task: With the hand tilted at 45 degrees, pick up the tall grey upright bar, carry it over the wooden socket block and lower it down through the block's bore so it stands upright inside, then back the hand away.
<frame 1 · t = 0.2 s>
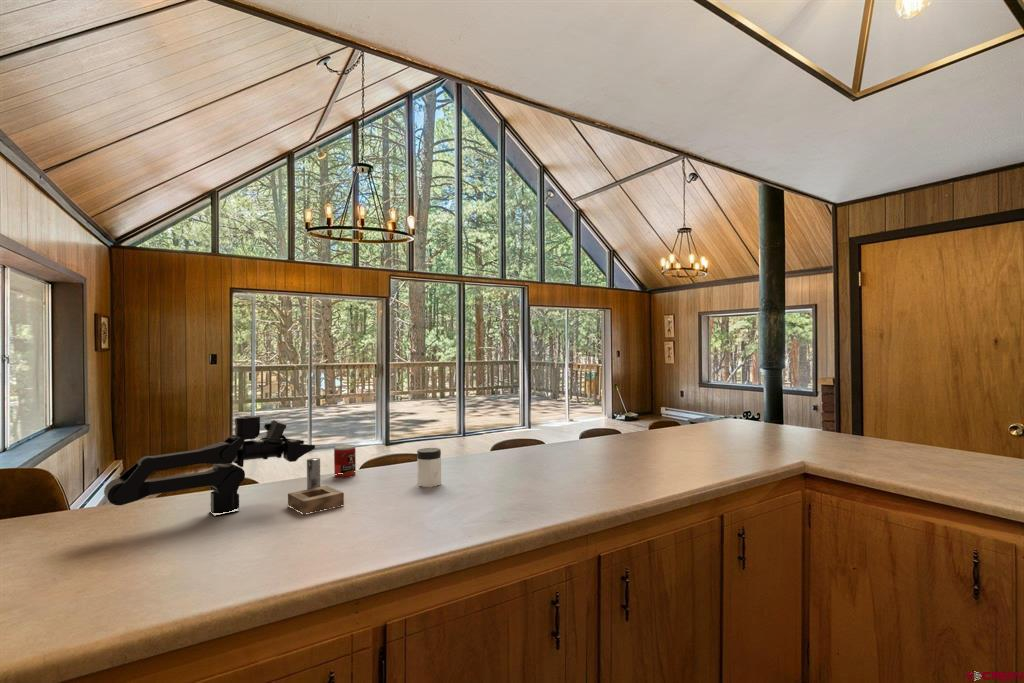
hand: (309, 444, 165), 16 cm above the worktop, tool horizontal, fingers open, 9 cm apart
wooden socket block: (315, 506, 151), on the worktop
grey upright bar: (313, 496, 161), on the worktop
canned food: (345, 476, 189), on the worktop
jar: (429, 484, 174), on the worktop
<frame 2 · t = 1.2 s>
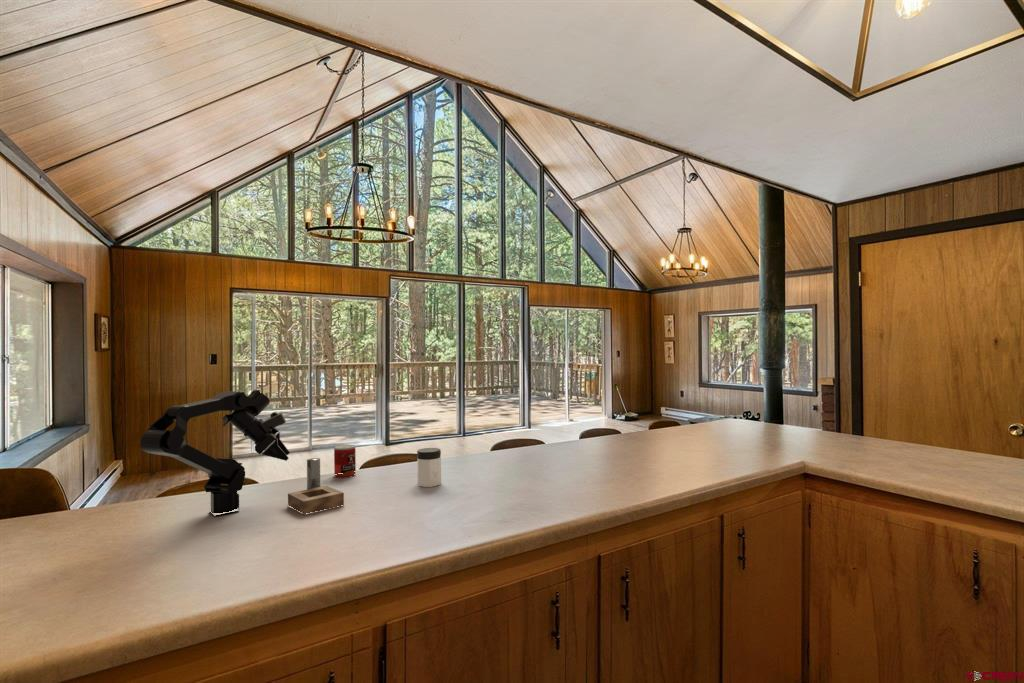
hand: (288, 456, 159), 14 cm above the worktop, tool tilted 45°, fingers open, 9 cm apart
nothing on the worktop moved.
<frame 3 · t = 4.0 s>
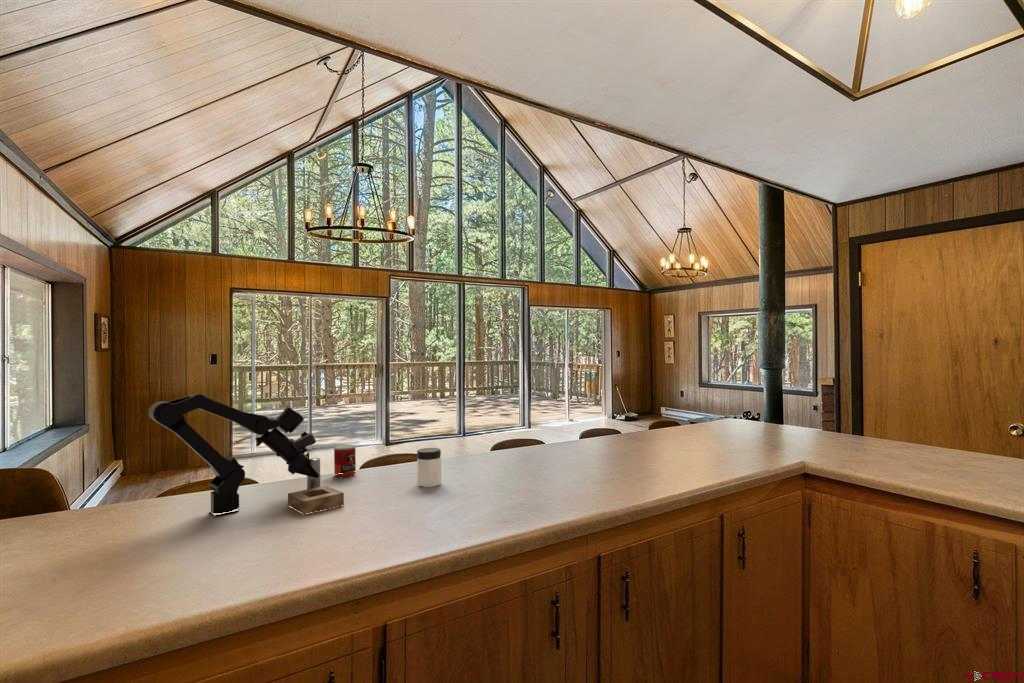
hand: (318, 475, 162), 7 cm above the worktop, tool tilted 45°, fingers closed on grey upright bar, 4 cm apart
grey upright bar: (313, 496, 161), on the worktop, touching gripper
everything else where it was.
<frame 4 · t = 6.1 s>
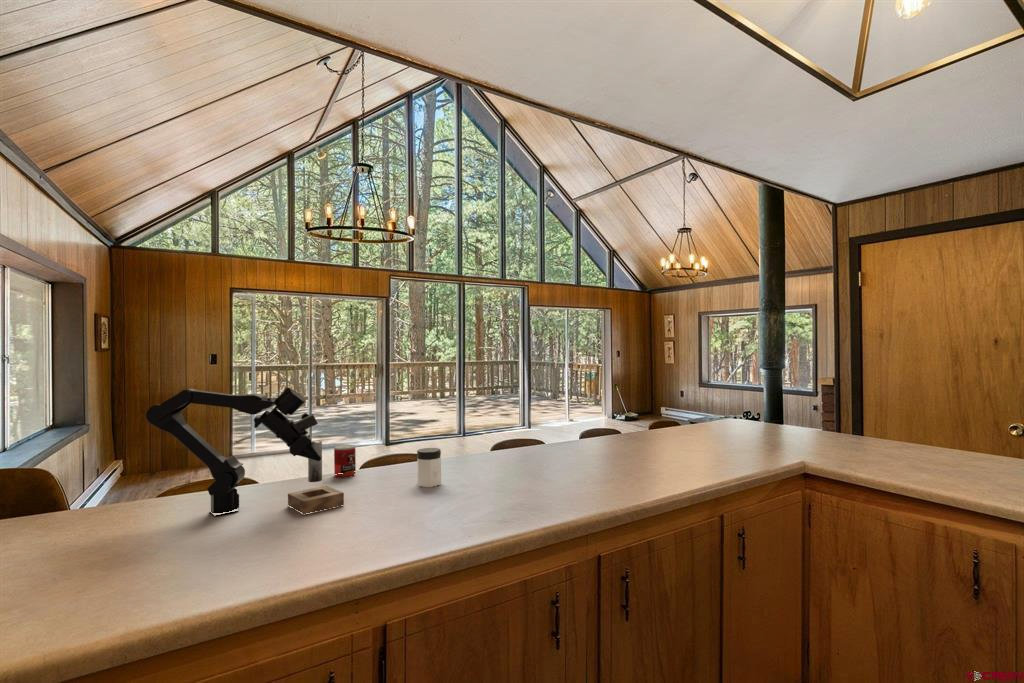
hand: (319, 458, 155), 14 cm above the worktop, tool tilted 45°, fingers closed on grey upright bar, 4 cm apart
grey upright bar: (315, 480, 154), point 7 cm above the worktop, touching gripper
everything else where it was.
when the fingers open (8 cm above the worktop, at t = 8.5 s): grey upright bar drops 1 cm, resting in wooden socket block.
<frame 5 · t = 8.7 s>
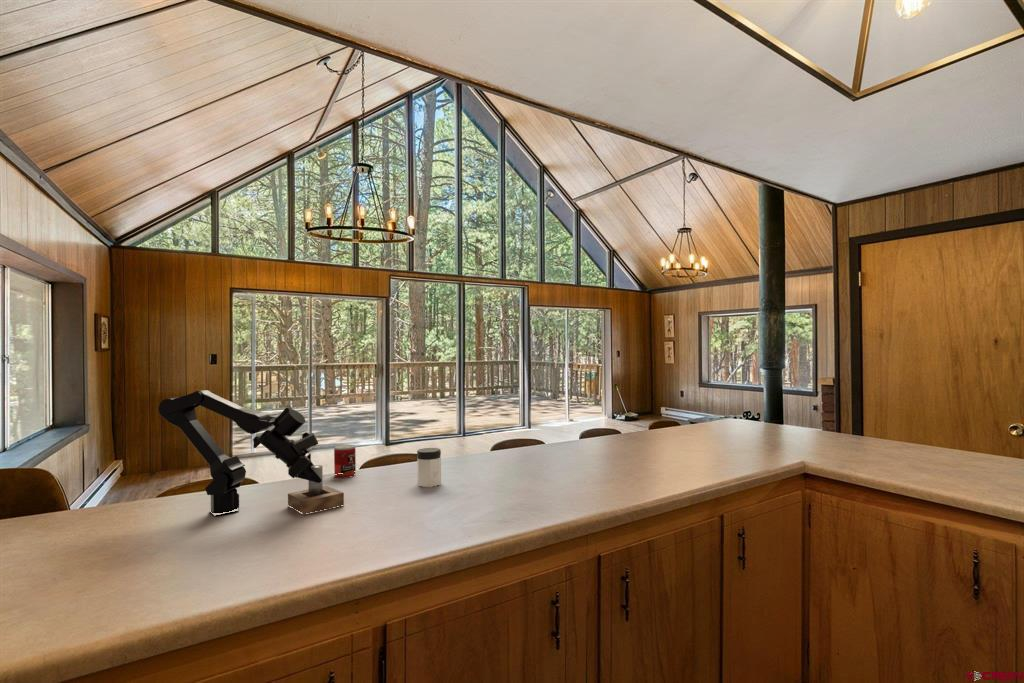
hand: (320, 479, 151), 8 cm above the worktop, tool tilted 45°, fingers open, 6 cm apart
grey upright bar: (315, 506, 151), resting in wooden socket block
everything else where it was.
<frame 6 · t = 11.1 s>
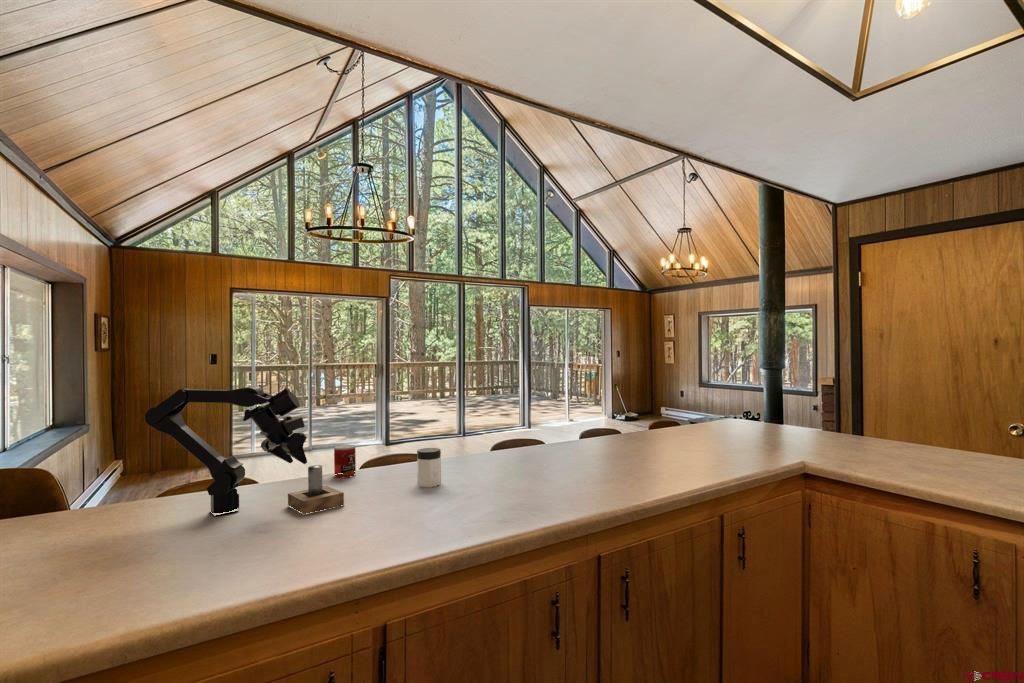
hand: (298, 462, 155), 12 cm above the worktop, tool tilted 35°, fingers open, 9 cm apart
nothing on the worktop moved.
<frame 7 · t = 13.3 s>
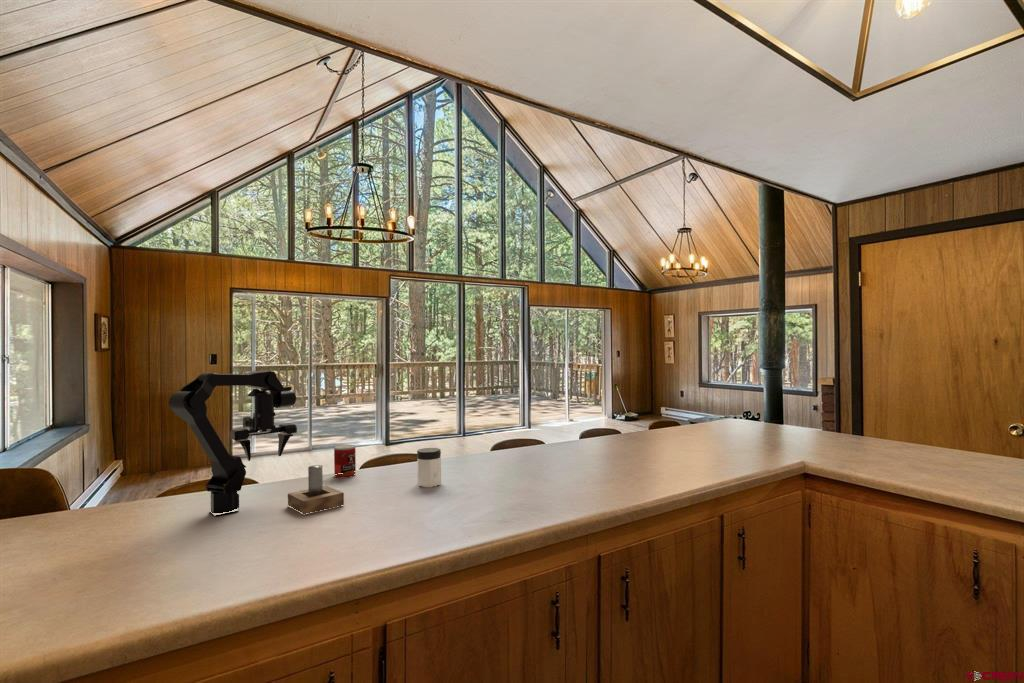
hand: (264, 458, 159), 13 cm above the worktop, tool pointing down, fingers open, 9 cm apart
nothing on the worktop moved.
at the end: grey upright bar 0.0 cm off-centre on the wooden socket block, point 0.0 cm above the wooden socket block's base; grey upright bar tilted 0°; the gripper is holding nothing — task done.
